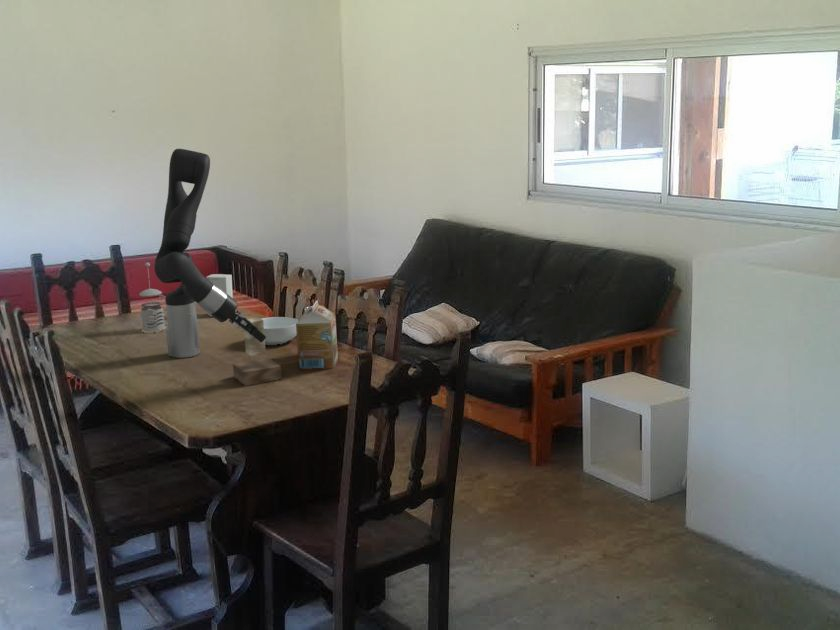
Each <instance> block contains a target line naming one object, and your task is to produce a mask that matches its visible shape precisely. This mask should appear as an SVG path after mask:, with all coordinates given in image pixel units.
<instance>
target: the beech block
mask: <svg viewBox="0 0 840 630" xmlns="http://www.w3.org/2000/svg"><path fill="white" fill-rule="evenodd" d="M247 319H248V320H250V321H251V324H253V325H254V326H255V327H257V330H259V331H260V332H261V333H262V334H264V323H263V320H262V318H260V317H253V318H252V317H251V318H247ZM252 328H253V327H251V328H250V329H249V331H251V330H252ZM243 334H244V336H243V337H244V345H245V346H244V348H245V354H247V355H248V356H250V357H254V356H260V355H266V354H267V353H266V352H267V351H266V344H265V339H264V341H263V342H260V341H259V340H257V339H256V338H255V337H254V336H252V335H250V334H249V333H248V332H247V331H243Z"/></svg>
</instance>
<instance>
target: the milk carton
mask: <svg viewBox="0 0 840 630" xmlns="http://www.w3.org/2000/svg"><path fill="white" fill-rule="evenodd" d="M312 306H313V307H312V308H310V309H309V310H307V311H306V312H305V311H304V313H303V314H302V315H301V316H300V317H299V319H297V320H298V322H297V323H296V332H297V335H296V343H297V357H298V369H299V370H312V368H323V369H335V367H336V364H337V362H338V360H339V354H338V353H339V352H338V339H337V335H338V334H337V321H336V319H337V318H336V314H335V313H334V312H333V311H331V310H329V309H328V308H326V307H325V306H324V307H322V306H323V305H320V304H319V300H318V299H317V300H315V302H314V304H313V305H312ZM334 366H335V367H334Z"/></svg>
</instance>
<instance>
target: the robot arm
mask: <svg viewBox="0 0 840 630" xmlns="http://www.w3.org/2000/svg"><path fill="white" fill-rule="evenodd" d="M210 168H211V158H210V156H209V155H208V154H207V153H203V152H200V151H194V150H190V149H184V148H176V149H174V150H173V151H172V154H171V155H170V160H169V167H168V186H167V187H168V191H167V199H166V204H165V211H164V216H163V217H164V219H163V228H162V229H163V231H162V239H161V244H160V247H159V249H158V252H157V255H156V258H155V260H154V273H155V276H156V278H157V279H158V280H159V281H160V282H161V283H163V284H174V283H180V285H179V286H178V287H177V288H175V289H174V290H172V291H170V292H168V293H167V294H166V295H165V296H166V297H165V298H164V299H165V301H164V302H165V311H166V313H167V314H166V320H167V326H166V327H167V328H166V331H165V333H166V342H167V343H166V346H167V353H168V355H167V356H168V357H169V356H171V357H172V358H176V359H177V358H178V359H180V358H181V359H182V358H191V357H195V356H198V355H200V354H201V352H200V351H201V350H200V349H201V348H200V340H199V339H200V338H199V337H200V336H199V329H198V316H197V306H196V303H197V305H199V306H200V308H201V309H203V310H204V311H206V313H209V314H210V315H212V316H211V317H213V318H214V319H215V320H217V321H218V322H219V323H225V322H227V321H228V322H229V323H230V324H232V325H233V326H235V327H237V328H238V329H240V330H241V331H242V332H244V331H247V332H248V333H249V334H250V335H252V336H254V337H255V338H256V339H257V340H259V341H260V342H263V341H264V339H265V338H266V336H265V335H264V334H262V333H261V332H260V331H259V330H257V327H255V326H254V325H253V324H251V321H250V320H248V319H249V318H247V317H245V315H244V314H243V313H242V312H241V311H238V310H237V309H238V304H239V303H238V302H237V300H236V299H234V297H233V298H232V297H230V296H229V295H228V294H227V293H225V292H224V291H223V290H222V289H220V288H219V287H218V286H216V285H214V284H213V283H212V282H210V281H209V280H208V279H207V278H206V277H205V276H204V275H203V274H202V273H201V271H200V270H199V268H197V266H196V265H195V264H194V261H193V258H192V256H191V254H190V253H189V252H187V251H186V250H187V249H188V248H189V246H190V243H191V239H192V235H193V234H194V231H195V227H196V222H197V213H198V209H199V207H200V204H201V201H202V198H203V195H204V191H205V189H206V185H207V181H208V178H209V174H210ZM183 183H188V184H191V185H193V187H192V189H191V192H190V193H189V194H187V192H186V191H185V189H184V186H183ZM209 314H208V315H209ZM251 327H253V328H252V330H251V331H249V329H250V328H251ZM171 357H170V358H171Z"/></svg>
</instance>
